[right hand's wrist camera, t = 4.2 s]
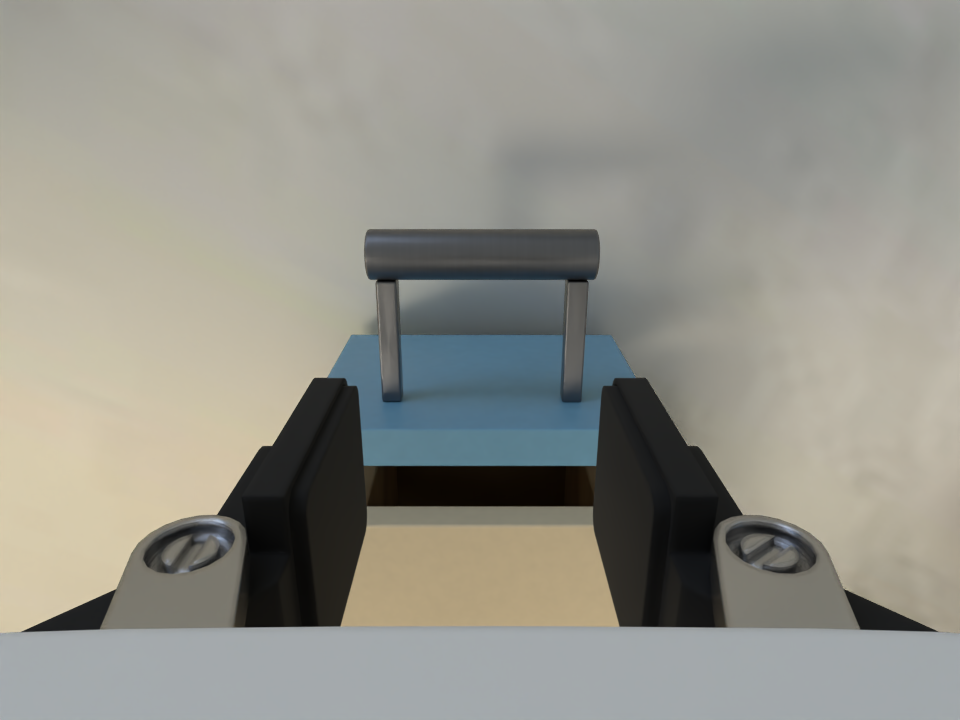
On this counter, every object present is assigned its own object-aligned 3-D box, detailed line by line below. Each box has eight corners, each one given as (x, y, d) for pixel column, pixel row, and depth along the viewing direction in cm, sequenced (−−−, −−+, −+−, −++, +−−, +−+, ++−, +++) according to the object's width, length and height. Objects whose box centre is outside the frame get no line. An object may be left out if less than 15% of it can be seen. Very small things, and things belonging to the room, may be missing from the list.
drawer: (341, 200, 25) (277, 243, 17) (621, 200, 25) (687, 244, 17) (378, 711, 34) (347, 893, 26) (583, 710, 34) (615, 893, 26)
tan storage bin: (344, 382, 28) (274, 525, 19) (617, 382, 28) (689, 525, 19) (373, 748, 36) (333, 985, 26) (588, 748, 36) (628, 985, 26)
